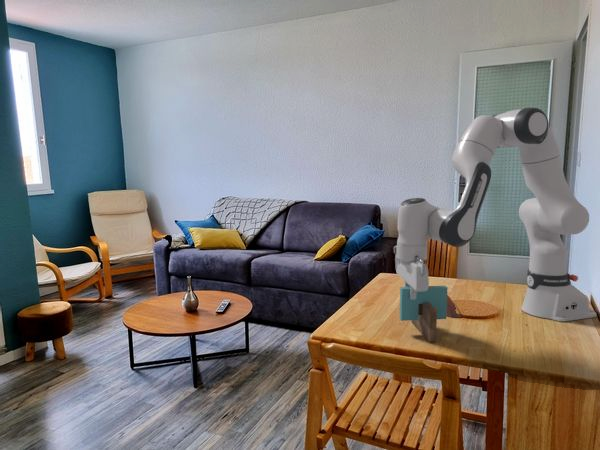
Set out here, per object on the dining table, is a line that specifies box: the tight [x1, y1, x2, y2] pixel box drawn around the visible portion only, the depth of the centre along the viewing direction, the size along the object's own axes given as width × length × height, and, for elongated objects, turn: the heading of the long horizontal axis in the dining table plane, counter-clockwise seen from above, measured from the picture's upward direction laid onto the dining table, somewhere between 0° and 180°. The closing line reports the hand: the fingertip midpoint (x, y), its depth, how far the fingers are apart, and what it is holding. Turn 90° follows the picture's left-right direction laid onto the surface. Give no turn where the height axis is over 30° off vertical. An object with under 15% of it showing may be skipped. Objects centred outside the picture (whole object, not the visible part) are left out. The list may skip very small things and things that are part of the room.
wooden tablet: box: [446, 294, 462, 319], centre depth 157 cm, size 27×10×2 cm, turn 170°
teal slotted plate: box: [399, 285, 448, 322], centre depth 131 cm, size 14×2×10 cm, turn 94°
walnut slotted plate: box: [410, 303, 438, 344], centre depth 132 cm, size 2×16×10 cm, turn 4°
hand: (410, 297), depth 130 cm, fingers closed on teal slotted plate, 2 cm apart
